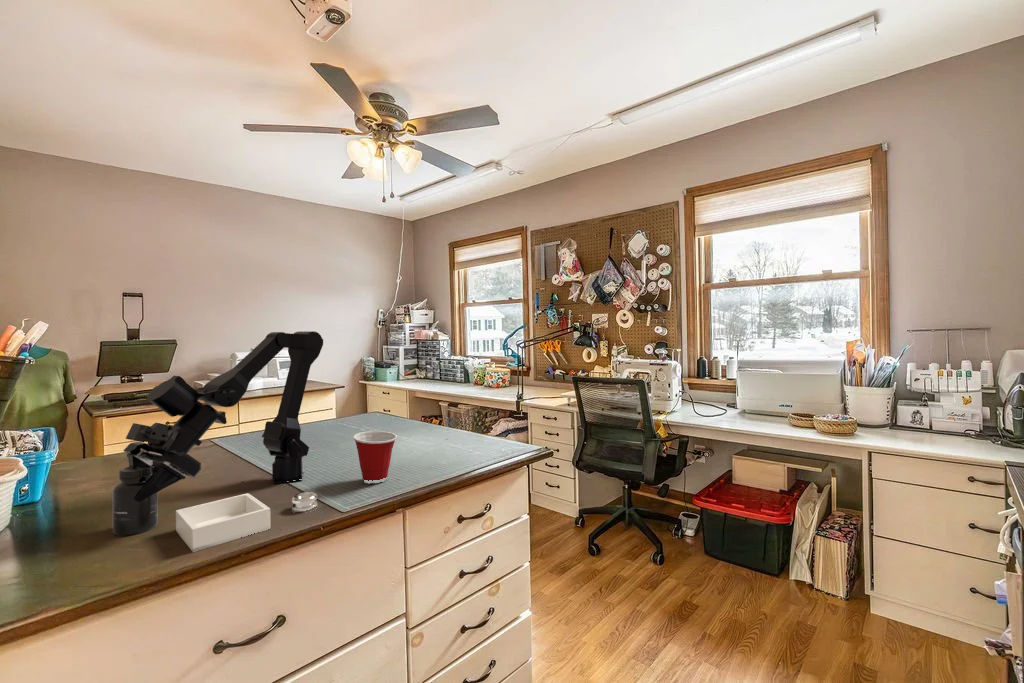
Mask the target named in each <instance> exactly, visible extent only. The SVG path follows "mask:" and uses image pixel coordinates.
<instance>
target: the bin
mask: <svg viewBox="0 0 1024 683" xmlns="http://www.w3.org/2000/svg"><path fill="white" fill-rule="evenodd" d="M271 528H272V526H271V507H269V506H267V505H266V504H264V503H263V502H262V501H260V500H259V499H257V498H256V497H254V496H253V495H252V494H250V493H243V494H239V495H235V496H230V497H225V498H222V499H218V500H214V501H210V502H205V503H201V504H197V505H193V506H188V507H185V508H180V509H177V510H175V532H176V533H177V534H178V535H179V537H180V538H181V539H182V540H183V542H185V544H186V545H187V546H188V548H189V549H190V550H191V553H195V552H199V551H202V550H205V549H208V548H212V547H216V546H219V545H223V544H225V543H228V542H232V541H235V540H239V539H242V538H245V537H249V536H252V535H255V534H258V532H259V533H261V532H265V531H268V529H269V530H271ZM254 533H255V534H254ZM251 534H252V535H251ZM248 535H249V536H248ZM241 537H242V538H241Z"/></svg>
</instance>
